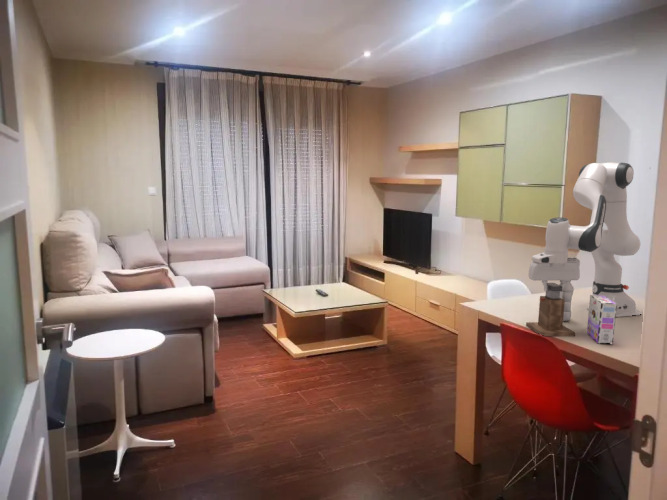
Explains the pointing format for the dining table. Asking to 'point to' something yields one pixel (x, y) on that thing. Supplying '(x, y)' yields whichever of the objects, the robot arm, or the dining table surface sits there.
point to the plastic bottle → (567, 299)
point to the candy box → (601, 318)
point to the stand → (550, 318)
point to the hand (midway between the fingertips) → (552, 290)
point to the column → (553, 291)
